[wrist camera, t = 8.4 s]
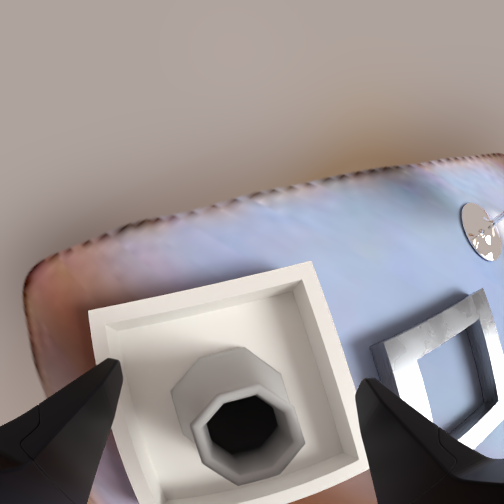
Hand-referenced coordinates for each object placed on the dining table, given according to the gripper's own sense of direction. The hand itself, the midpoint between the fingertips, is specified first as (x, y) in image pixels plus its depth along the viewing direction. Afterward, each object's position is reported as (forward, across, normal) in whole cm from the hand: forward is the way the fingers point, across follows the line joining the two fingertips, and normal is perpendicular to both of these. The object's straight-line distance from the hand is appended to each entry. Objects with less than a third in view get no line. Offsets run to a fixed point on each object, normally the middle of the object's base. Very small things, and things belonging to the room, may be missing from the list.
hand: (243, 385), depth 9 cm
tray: (+6, 0, +7) cm, 9 cm away
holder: (+6, -18, +7) cm, 20 cm away
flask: (+5, 0, +7) cm, 9 cm away
